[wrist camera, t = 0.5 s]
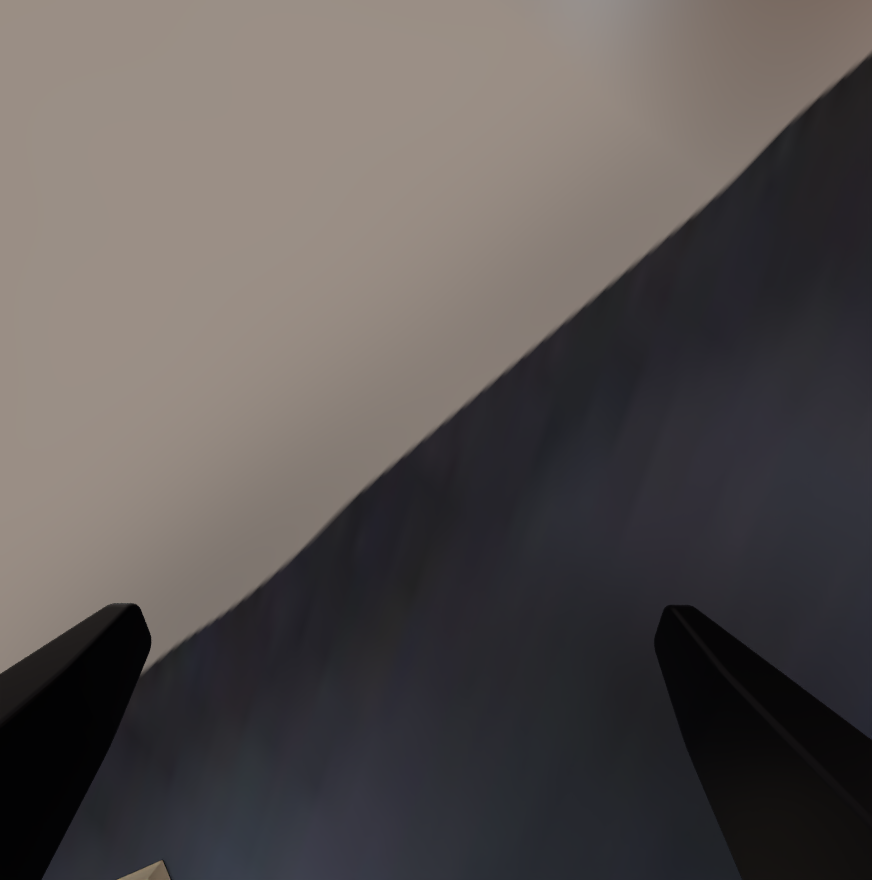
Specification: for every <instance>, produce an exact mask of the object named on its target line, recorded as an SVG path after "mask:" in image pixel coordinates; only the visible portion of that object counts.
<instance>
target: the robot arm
mask: <svg viewBox="0 0 872 880" xmlns="http://www.w3.org/2000/svg"><path fill="white" fill-rule="evenodd" d="M654 647H655V652H656V655H657V658H658V662H659V665H660V668H661V671H662V674H663V677H664V680H665V684H666V687H667V690H668V693H669V696H670V699H671V702H672V706H673V709H674V712H675V715H676V718H677V721H678V724H679V728H680V731H681V733H682V736H683V739H684V742H685V745H686V748H687V750H688V753H689V755H690V758H691V760H692V763H693V765H694V767H695V770H696V772H697V774H698V777H699V779H700V781H701V784H702V786H703V788H704V791H705V793H706V795H707V798H708V800H709V803H710V805H711V807H712V810H713V812H714V814H715V817H716V819H717V821H718V824H719V826H720V828H721V831H722V833H723V835H724V838H725V840H726V842H727V845H728V847H729V849H730V852H731V854H732V856H733V859H734V861H735V864H736V866H737V868H738V871H739V873H740V875H741V878H742V880H872V740H871V739H870V738H868V737H867V736H866V735H864V734H863V733H862V732H860V731H859V730H858V729H856V728H855V727H854V726H852V725H851V724H850V723H848V722H847V721H846V720H844V719H843V718H842V717H840V716H839V715H838V714H836V713H835V712H834V711H832V710H831V709H830V708H828V707H827V706H826V705H824V704H823V703H822V702H820V701H819V700H818V699H816V698H815V697H814V696H812V695H811V694H810V693H808V692H807V691H806V690H804V689H803V688H802V687H800V686H799V685H798V684H796V683H795V682H794V681H792V680H791V679H790V678H788V677H787V676H786V675H784V674H783V673H782V672H780V671H779V670H778V669H776V668H775V667H774V666H772V665H771V664H770V663H768V662H767V661H766V660H764V659H763V658H762V657H760V656H759V655H758V654H756V653H755V652H754V651H752V650H751V649H750V648H748V647H747V646H746V645H744V644H743V643H742V642H740V641H739V640H738V639H736V638H735V637H734V636H732V635H731V634H730V633H728V632H727V631H726V630H724V629H723V628H722V627H720V626H719V625H718V624H716V623H715V622H714V621H712V620H711V619H710V618H708V617H707V616H706V615H704V614H703V613H702V612H700V611H699V610H698V609H696V608H695V607H693V606H690V605H668V606H666V607H665V608H664V610H663V613H662V616H661V619H660V622H659V625H658V628H657V631H656V634H655V638H654ZM150 648H151V635H150V632H149V629H148V627H147V624H146V622H145V619H144V616H143V614H142V611H141V609H140V607H139V606H137V605H136V604H133V603H114V604H110V605H107V606H106V607H104V608H102V609H101V610H99V611H98V612H96V613H94V614H93V615H92V616H90V617H88V618H87V619H85V620H84V621H82V622H80V623H79V624H77V625H76V626H74V627H73V628H71V629H69V630H68V631H66V632H65V633H63V634H62V635H60V636H59V637H57V638H56V639H54V640H52V641H51V642H49V643H48V644H46V645H44V646H43V647H41V648H40V649H38V650H37V651H35V652H34V653H32V654H30V655H29V656H27V657H26V658H24V659H23V660H21V661H20V662H18V663H16V664H15V665H13V666H12V667H10V668H9V669H7V670H6V671H4V672H2V673H1V674H0V880H42V878H43V876H44V874H45V872H46V870H47V868H48V866H49V864H50V862H51V860H52V858H53V856H54V854H55V853H56V851H57V849H58V847H59V845H60V843H61V841H62V839H63V837H64V835H65V833H66V831H67V829H68V827H69V826H70V824H71V822H72V820H73V818H74V816H75V814H76V812H77V810H78V808H79V806H80V804H81V802H82V800H83V799H84V797H85V795H86V793H87V791H88V789H89V787H90V785H91V783H92V781H93V779H94V777H95V775H96V773H97V772H98V770H99V768H100V766H101V764H102V762H103V760H104V758H105V756H106V754H107V752H108V750H109V748H110V746H111V743H112V741H113V739H114V737H115V734H116V732H117V730H118V727H119V725H120V722H121V720H122V718H123V715H124V713H125V710H126V708H127V705H128V703H129V701H130V698H131V696H132V693H133V691H134V688H135V686H136V683H137V681H138V679H139V676H140V674H141V671H142V669H143V666H144V664H145V661H146V659H147V656H148V654H149V651H150Z"/></svg>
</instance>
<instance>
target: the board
mask: <svg viewBox="0 0 872 880" xmlns="http://www.w3.org/2000/svg"><path fill="white" fill-rule="evenodd" d="M118 880H171V879H170V877H169V875H168V872H167V870H166V867H165V865H164V863H163V860H161V861H159V862H157V863H154V864H152V865H150V866H147V867H145V868H143V869H141V870H138V871H136V872H134V873H132V874H129V875H127V876H125V877H122V878H120V879H118Z"/></svg>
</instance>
